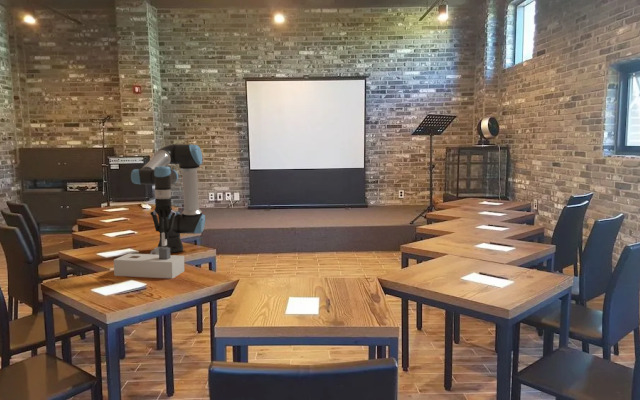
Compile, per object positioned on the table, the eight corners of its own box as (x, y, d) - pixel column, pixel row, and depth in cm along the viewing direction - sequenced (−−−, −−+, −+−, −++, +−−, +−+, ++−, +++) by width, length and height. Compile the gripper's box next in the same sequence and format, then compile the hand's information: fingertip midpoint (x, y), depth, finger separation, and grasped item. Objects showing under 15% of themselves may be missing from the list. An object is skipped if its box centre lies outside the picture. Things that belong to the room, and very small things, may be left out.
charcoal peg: (162, 261, 238) (162, 247, 238) (170, 261, 238) (170, 247, 237) (159, 263, 234) (158, 249, 234) (166, 263, 234) (166, 249, 233)
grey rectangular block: (129, 268, 247) (128, 253, 246) (184, 271, 243) (184, 255, 242) (114, 275, 233) (113, 259, 232) (172, 278, 229) (172, 262, 228)
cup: (166, 266, 252) (165, 249, 251) (147, 265, 253) (147, 249, 252) (170, 262, 260) (170, 246, 259) (152, 262, 260) (152, 246, 259)
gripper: (146, 198, 230) (148, 246, 232) (172, 199, 228) (173, 247, 231) (154, 196, 237) (155, 243, 240) (179, 197, 235) (180, 244, 238)
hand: (164, 245), depth 235 cm, fingers closed
